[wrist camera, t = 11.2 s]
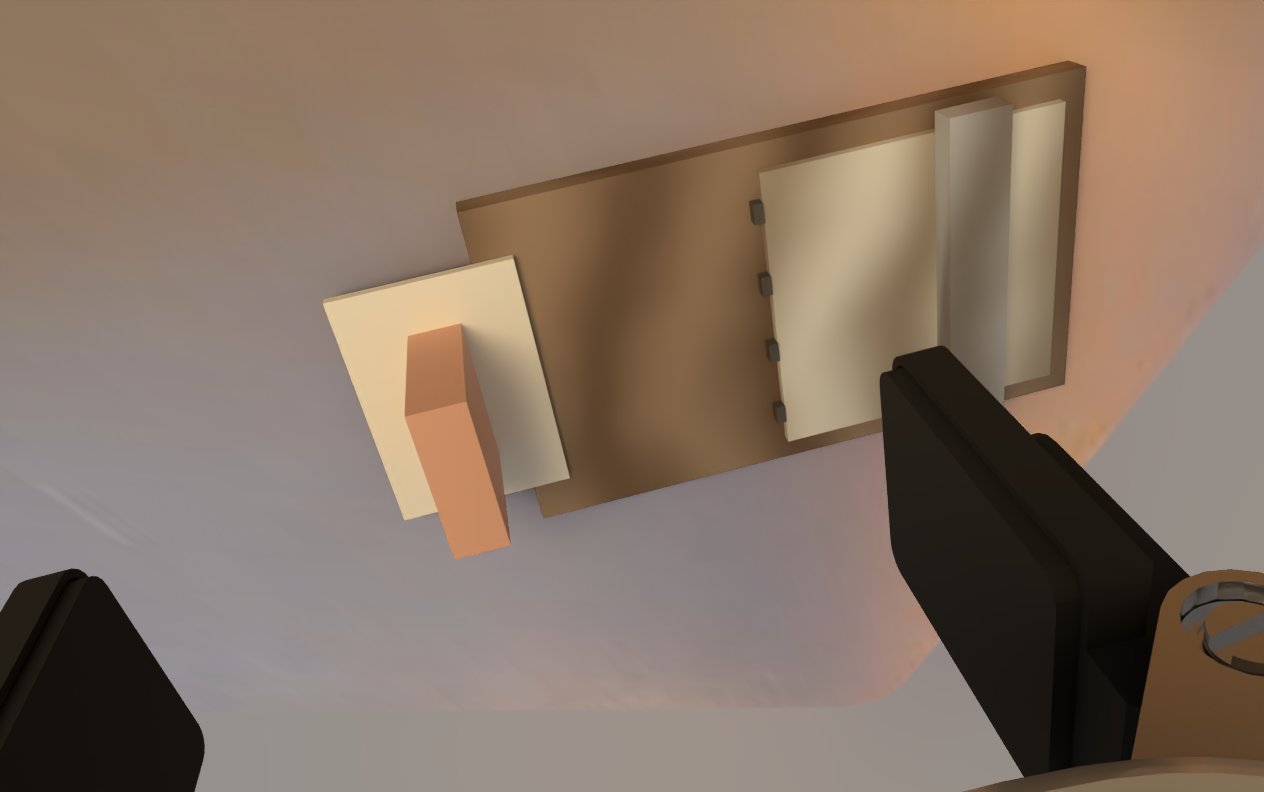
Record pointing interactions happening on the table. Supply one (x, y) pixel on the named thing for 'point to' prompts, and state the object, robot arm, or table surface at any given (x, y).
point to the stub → (452, 395)
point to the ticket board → (792, 278)
